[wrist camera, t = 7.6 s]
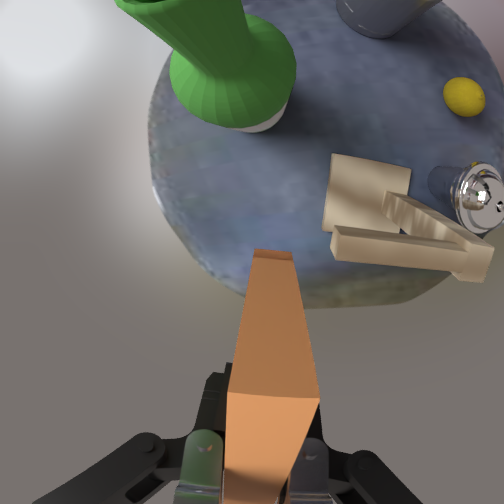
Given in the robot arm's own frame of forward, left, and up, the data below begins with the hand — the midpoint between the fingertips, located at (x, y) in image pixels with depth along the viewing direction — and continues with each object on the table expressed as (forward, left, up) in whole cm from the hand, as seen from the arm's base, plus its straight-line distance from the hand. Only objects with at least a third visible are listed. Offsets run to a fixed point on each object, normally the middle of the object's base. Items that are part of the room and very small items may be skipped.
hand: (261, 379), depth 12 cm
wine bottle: (-14, -3, -27) cm, 31 cm away
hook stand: (-4, +11, -27) cm, 29 cm away
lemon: (-21, +24, -27) cm, 42 cm away
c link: (0, 0, -5) cm, 5 cm away
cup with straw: (-8, +24, -27) cm, 37 cm away
